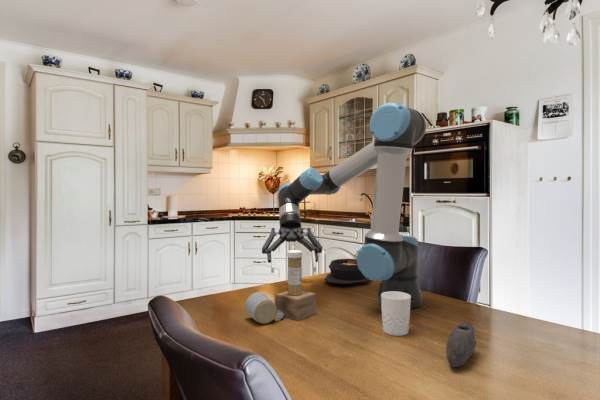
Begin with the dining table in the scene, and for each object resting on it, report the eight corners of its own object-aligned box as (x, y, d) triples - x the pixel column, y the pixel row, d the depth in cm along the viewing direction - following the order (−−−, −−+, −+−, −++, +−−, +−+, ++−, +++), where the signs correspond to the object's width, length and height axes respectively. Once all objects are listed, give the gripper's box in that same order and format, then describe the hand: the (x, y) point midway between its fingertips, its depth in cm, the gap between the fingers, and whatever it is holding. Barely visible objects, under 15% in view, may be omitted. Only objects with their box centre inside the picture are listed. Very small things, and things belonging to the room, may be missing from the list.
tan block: (316, 313, 120) (316, 293, 120) (297, 320, 113) (297, 299, 113) (294, 307, 126) (294, 288, 126) (275, 314, 119) (275, 294, 119)
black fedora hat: (345, 273, 178) (345, 255, 178) (382, 279, 167) (382, 260, 166) (313, 283, 159) (313, 263, 159) (352, 291, 147) (352, 269, 147)
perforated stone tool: (463, 376, 80) (463, 343, 80) (437, 369, 83) (437, 337, 83) (479, 352, 92) (479, 323, 92) (456, 346, 95) (456, 318, 95)
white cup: (411, 328, 107) (411, 292, 107) (409, 338, 100) (410, 300, 100) (382, 325, 110) (382, 290, 110) (378, 334, 103) (379, 297, 102)
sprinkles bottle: (292, 291, 123) (292, 249, 122) (304, 293, 120) (304, 250, 120) (284, 294, 119) (284, 251, 118) (296, 296, 116) (296, 252, 116)
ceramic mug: (255, 327, 108) (255, 300, 108) (244, 318, 115) (245, 293, 115) (288, 321, 113) (289, 295, 113) (276, 313, 120) (277, 289, 120)
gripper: (322, 225, 142) (330, 275, 128) (254, 226, 139) (254, 276, 125) (325, 212, 137) (333, 262, 122) (254, 212, 134) (254, 264, 120)
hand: (293, 270), depth 124 cm, fingers open, 13 cm apart
